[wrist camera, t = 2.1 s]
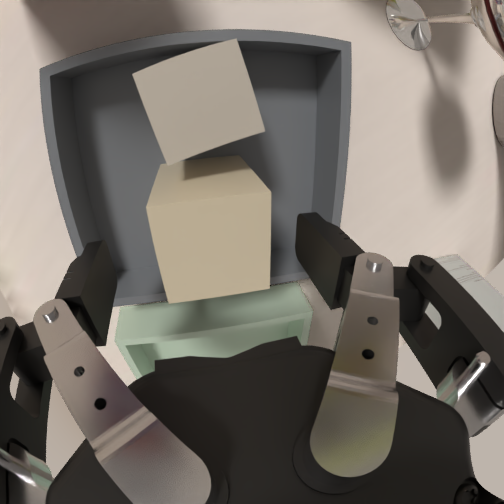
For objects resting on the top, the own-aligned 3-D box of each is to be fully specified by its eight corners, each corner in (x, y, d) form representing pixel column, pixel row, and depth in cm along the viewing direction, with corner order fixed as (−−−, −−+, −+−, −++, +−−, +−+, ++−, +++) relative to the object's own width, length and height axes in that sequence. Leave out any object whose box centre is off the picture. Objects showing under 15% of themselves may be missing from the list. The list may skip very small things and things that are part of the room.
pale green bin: (296, 281, 22) (313, 310, 19) (285, 376, 30) (294, 400, 27) (120, 307, 20) (114, 340, 17) (164, 395, 27) (165, 421, 24)
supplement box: (399, 311, 29) (459, 391, 18) (422, 258, 25) (501, 340, 14) (436, 300, 30) (492, 366, 20) (458, 252, 26) (526, 318, 16)
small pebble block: (220, 56, 12) (236, 38, 8) (241, 120, 14) (265, 131, 10) (149, 81, 12) (132, 74, 8) (173, 145, 14) (167, 166, 10)
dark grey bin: (321, 49, 13) (351, 42, 10) (311, 246, 21) (332, 273, 18) (66, 72, 10) (39, 68, 7) (108, 275, 18) (98, 308, 15)
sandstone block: (239, 155, 15) (271, 192, 10) (241, 224, 18) (269, 288, 12) (160, 164, 14) (146, 207, 9) (171, 233, 17) (168, 303, 12)
